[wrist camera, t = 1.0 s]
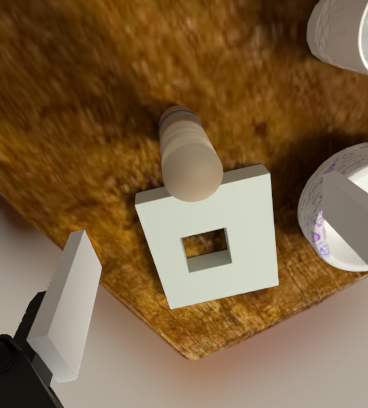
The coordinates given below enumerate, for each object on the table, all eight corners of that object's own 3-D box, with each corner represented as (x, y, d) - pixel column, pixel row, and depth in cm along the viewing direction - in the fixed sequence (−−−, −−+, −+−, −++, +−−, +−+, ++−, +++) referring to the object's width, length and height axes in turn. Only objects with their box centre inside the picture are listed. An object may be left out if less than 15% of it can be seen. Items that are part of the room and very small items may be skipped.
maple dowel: (153, 109, 33) (154, 153, 21) (194, 99, 33) (219, 137, 21) (163, 149, 35) (169, 209, 23) (201, 140, 35) (228, 195, 23)
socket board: (136, 193, 38) (134, 204, 35) (261, 163, 37) (270, 173, 35) (169, 293, 46) (170, 309, 44) (271, 270, 46) (278, 285, 43)
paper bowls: (269, 175, 38) (295, 206, 31) (386, 108, 35) (443, 126, 28) (309, 253, 45) (337, 292, 38) (409, 202, 42) (459, 235, 35)
